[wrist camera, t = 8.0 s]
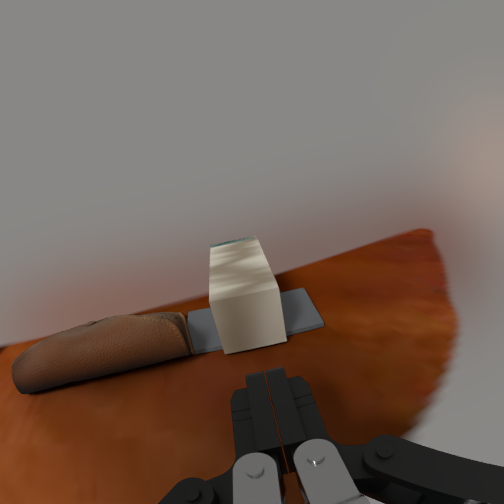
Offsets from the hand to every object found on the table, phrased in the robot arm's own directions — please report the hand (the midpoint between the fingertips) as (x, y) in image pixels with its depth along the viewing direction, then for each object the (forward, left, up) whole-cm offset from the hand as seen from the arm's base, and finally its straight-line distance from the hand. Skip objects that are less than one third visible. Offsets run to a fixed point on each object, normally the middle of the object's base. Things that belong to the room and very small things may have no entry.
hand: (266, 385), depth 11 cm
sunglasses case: (-14, +12, -7) cm, 20 cm away
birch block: (0, +10, -4) cm, 11 cm away
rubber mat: (0, +14, -7) cm, 16 cm away
